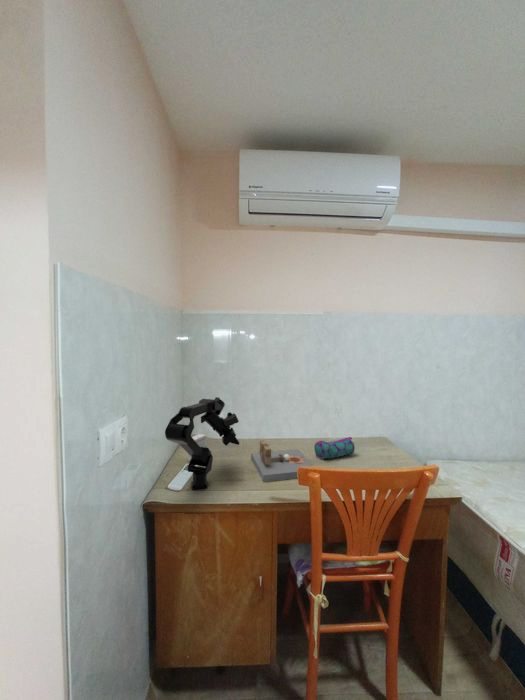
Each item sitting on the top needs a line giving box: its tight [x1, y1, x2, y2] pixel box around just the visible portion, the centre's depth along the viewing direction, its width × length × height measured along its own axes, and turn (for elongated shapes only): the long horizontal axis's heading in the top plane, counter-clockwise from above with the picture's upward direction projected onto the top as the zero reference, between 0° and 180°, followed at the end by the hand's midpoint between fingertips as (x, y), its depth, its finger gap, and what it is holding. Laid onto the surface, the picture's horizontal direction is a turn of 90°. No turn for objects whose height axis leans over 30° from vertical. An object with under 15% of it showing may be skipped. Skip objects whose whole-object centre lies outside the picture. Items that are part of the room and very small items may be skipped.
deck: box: [250, 448, 315, 483], centre depth 135 cm, size 24×26×3 cm
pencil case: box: [313, 436, 356, 460], centre depth 149 cm, size 21×9×10 cm, turn 113°
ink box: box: [187, 433, 208, 462], centre depth 141 cm, size 9×5×12 cm, turn 149°
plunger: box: [259, 440, 284, 465], centre depth 133 cm, size 11×10×8 cm
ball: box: [284, 454, 290, 461], centre depth 135 cm, size 3×3×3 cm
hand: (238, 443), depth 129 cm, fingers closed
